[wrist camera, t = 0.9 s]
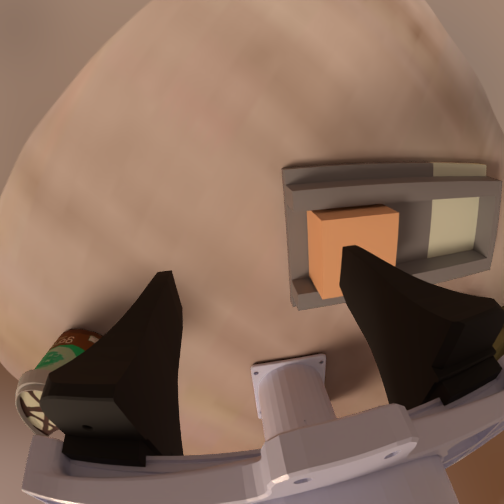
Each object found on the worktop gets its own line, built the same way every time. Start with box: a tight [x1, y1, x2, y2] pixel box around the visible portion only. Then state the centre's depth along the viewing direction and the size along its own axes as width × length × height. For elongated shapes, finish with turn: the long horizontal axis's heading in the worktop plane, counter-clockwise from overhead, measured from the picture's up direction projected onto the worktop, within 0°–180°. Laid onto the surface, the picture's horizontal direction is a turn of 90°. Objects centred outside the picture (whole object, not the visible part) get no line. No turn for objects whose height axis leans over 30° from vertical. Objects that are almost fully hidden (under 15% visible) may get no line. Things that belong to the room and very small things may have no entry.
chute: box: [282, 162, 502, 311], centre depth 24 cm, size 12×22×4 cm, turn 96°
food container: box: [15, 329, 103, 437], centre depth 23 cm, size 12×6×10 cm, turn 128°
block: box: [307, 204, 399, 299], centre depth 23 cm, size 6×6×4 cm
